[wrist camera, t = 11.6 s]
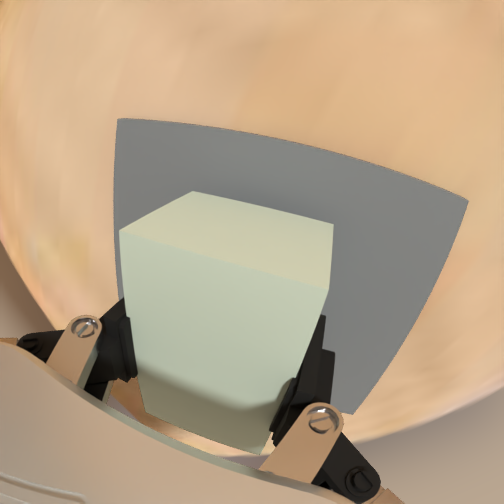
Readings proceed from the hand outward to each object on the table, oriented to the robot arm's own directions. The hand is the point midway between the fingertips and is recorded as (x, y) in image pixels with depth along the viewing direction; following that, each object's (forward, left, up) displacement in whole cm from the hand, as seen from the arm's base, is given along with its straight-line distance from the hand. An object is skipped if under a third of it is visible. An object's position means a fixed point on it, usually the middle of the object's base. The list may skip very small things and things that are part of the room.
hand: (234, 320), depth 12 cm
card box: (0, 0, -1) cm, 1 cm away
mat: (0, 0, -3) cm, 3 cm away
